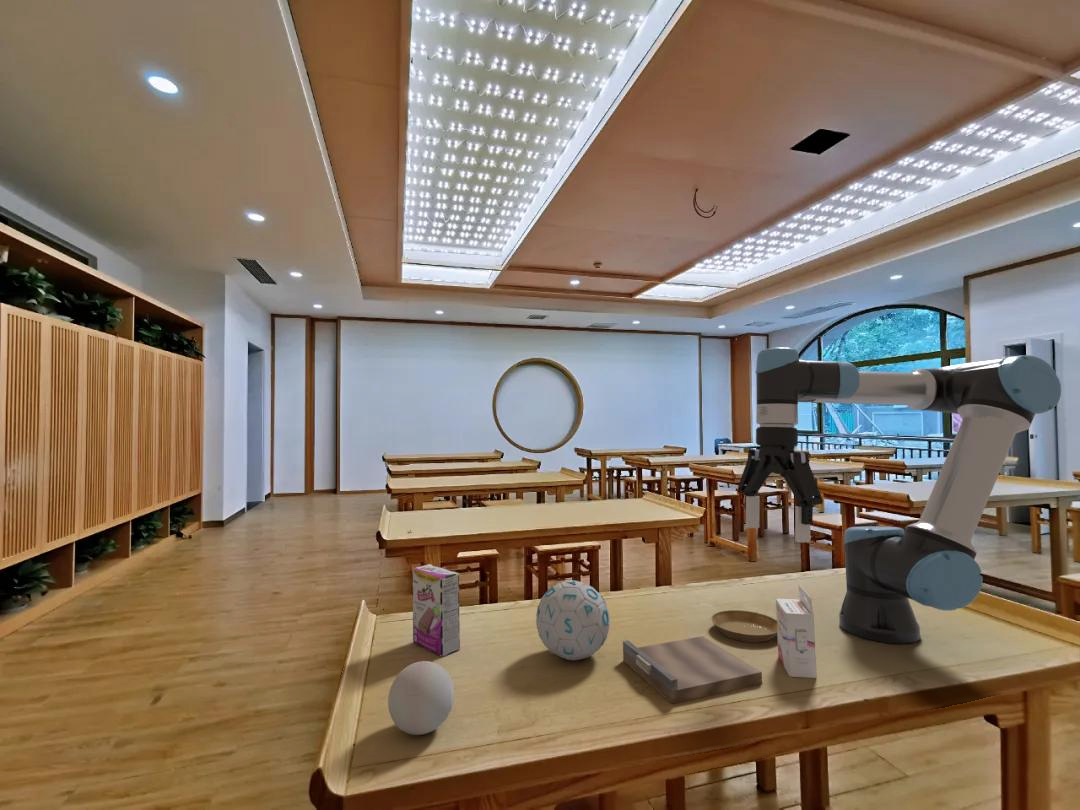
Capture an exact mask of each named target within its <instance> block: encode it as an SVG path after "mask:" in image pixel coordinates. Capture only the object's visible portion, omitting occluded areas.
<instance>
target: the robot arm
mask: <svg viewBox="0 0 1080 810" xmlns="http://www.w3.org/2000/svg"><path fill="white" fill-rule="evenodd" d="M798 351H799V350H797V349H796V348H792V347H771V348H765V349H762V350H761V351H759V352H758V354H757V357H756V367H755V375H756V379H755V381H756V415H755V416H756V417H755V418H756V424H757V425H759V427H756V429H755V444H756V446H759V449H758V448H755V449H754V448H749V449H748V450H747V451H748V452H747V460H746V463H745V466H744V469H743V472H742V474H741V477H740V480H739V483H738V486H737V491H738V492H741V493H743V495H744V498H745V499H744V510H745V528H747V529H759V528H760V494H759V491H760V489H761V488H762V487H763V485H764V484H765V482H766V480H767V479H768V477H769V476H770V475H771V474H777V475H780V477H782V478H784V480H785V482H786V484H787V486H788V487H789V489H790V491H791V493H792V495H793V496H794V498H795V500H796V501H797V504H796V505H794V506H795V507H794V510H795V511H794V513H795V515H794V516H795V517H794V519H795V520H794V522H795V523H794V524H795V525H794V529H795V530H794V531H795V532H794V541H795V543H811V525H812V524H813V521H814V520H813V519H814V517H813V516H814V515H813V514H814V513H813V512H814V510H813V509H814V507H815V506H817V505H822V504H823V502H824V500H823V497H822V495H821V492H820V489H819V487H818V485H817V481H816V478H815V477H814V473H813V470H812V468H811V466H810V459H809V458H810V457H809V453H808V452H807V451H795V447H797V446H798V445H799V441H798V440H799V438H798V437H799V432H798V431H799V430H798V428H797V427H795V426H797V425H799V411H798V410H799V408H798V407H799V403H819V404H820V403H821V404H823V403H824V404H827V403H828V404H854V405H855V404H856V405H857V404H858V405H888V406H907V407H908V408H909V409H911V410H915V411H930V412H937V413H948V414H954V415H955V414H956V415H959V416H960V418H961V419H962V420H961V423H960V425H959V427H958V430H957V432H956V435H955V437H954V438H953V441H952V444H951V446H950V448H949V451H948V453H947V456H946V457H945V460H944V462H943V464H942V467H941V469H940V471H939V473H938V476H937V479H936V481H935V483H934V486H933V488H932V490H931V493H930V495H929V497H928V499H927V502H926V504H925V506H924V508H923V511H922V513H921V515H920V518H919V520H918V521H917V522H914V523H911V524H908V525H906V527H905V530H904V528H901V527H899V526H898V527H897V526H881V525H880V526H873V525H871V526H865V525H864V526H852V527H848V528H846V530H845V531H844V541H843V546H844V560H845V563H844V564H845V565H844V566H845V578H846V579H845V581H846V583H845V584H846V592H845V596H844V599H843V602H842V604H841V608H840V611H839V614H838V618H839V626H840V627H841V628H842V629H843V630H845V631H846V632H848V633H850V634H852V635H854V636H857V637H860V638H864V639H867V640H871V641H874V642H880V643H887V644H913V643H916V642H918V641H919V640H920V639H921V627H920V625H919V624H920V623H918V621H917V618H916V614H915V613H914V609H913V607H912V605H911V603H910V599H911V600H912V601H915V602H916V603H918V604H920V605H922V606H924V607H925V606H926V607H930V608H933V609H936V610H939V611H946V612H947V611H956V610H958V609H962V608H966V607H967V606H969V605H970V604H971V603H972V602H973V601H974V600H975V599H977V597H978V596H979V594H980V592H981V590H982V587H983V581H984V580H983V576H982V575H981V572H982V569H981V566H980V565H979V563H978V562H977V561H976V560H975V558H976V556H977V554H978V551H977V550H976V548H975V546H974V545H973V544H972V539H973V537H974V534H975V531H976V529H977V527H978V524H979V523H980V520H981V517H982V515H983V513H984V510H985V508H986V505H987V504H988V501H989V499H990V497H991V493H992V491H993V489H994V487H995V484H996V482H997V480H998V477H999V475H1000V472H1001V470H1002V468H1003V465H1004V463H1005V460H1006V458H1007V455H1008V453H1009V451H1010V449H1011V446H1012V444H1013V442H1014V439H1015V436H1016V434H1018V433H1021V432H1024V431H1027V430H1029V429H1030V428H1031V425H1032V423H1033V420H1034V419H1035V416H1036V415H1037V414H1043V413H1047V412H1048V411H1051V410H1053V409H1054V408H1055V407H1056V406H1057V405H1058V404H1059V401H1060V399H1061V397H1062V396H1061V395H1062V385H1061V381H1060V378H1059V377H1058V375H1057V372H1056V370H1055V369H1054V368H1053V366H1051V364H1050V363H1048V362H1047V361H1045V360H1044V359H1042V358H1040V357H1038V356H1034V355H1025V354H1024V355H1023V354H1022V355H1007V356H1004V357H999V358H993V359H985V360H978V361H977V360H976V361H971V362H964V363H963V362H962V363H959V364H958V363H957V364H953V365H948V366H942V367H941V366H940V367H935V368H916V369H912V370H911V371H909V372H900V371H899V372H895V371H869V370H868V371H867V370H863V371H862V370H861V371H860V370H858V368H857V367H856V366H855V365H854V363H852V362H847V361H839V360H835V361H834V360H833V361H831V360H830V361H829V360H803V359H800V357H799V352H798Z"/></svg>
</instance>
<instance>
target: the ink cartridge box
mask: <svg viewBox="0 0 1080 810" xmlns="http://www.w3.org/2000/svg"><path fill="white" fill-rule="evenodd" d="M797 586H798V591H799V592H798V593H799V599H794V598H775V608H776V611H775V612H776V620H777V635H776V636H777V651H778V652H777V655H778V658H779V660H780V661H781V663H782V666H783V668H784V669H785V671H786V672H787V674H788V676H789V677H793V678H805V679H806V678H808V679H817V676H818V675H817V674H818V673H817V657H816V656H817V655H816V635H815V618H814V616H815V615H814V610H813V604H812V598H811V596H810V595H809V593H808V592H807V591H806V590H805V589H804V588H803V587H802V586H801V585H800V584H798V585H797Z"/></svg>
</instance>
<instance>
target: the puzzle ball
mask: <svg viewBox="0 0 1080 810" xmlns="http://www.w3.org/2000/svg"><path fill="white" fill-rule="evenodd" d="M535 625H536V630H537V632H538V637H539V638H540V640H541V641H542V643H543V644H544V646H545V648H547V650H548V651H550V652H551V653H553V654H554V655H556V656H559V657H560V658H563V659H564V660H567V661H579V660H583V659H586V658H589V657H591V656H592V655H595V654H596V653H597V652H598V651H599V650H600V649H601V647H603V646H604V643H605V641H606V639H607V637H608V635H609V630H610V611H609V609H608V605H607V603H606V600H605V599H604V597H603V595H602V594H601V593H599V592H598V591H597V590H596V589H595V587H593V586H592V585H589V584H587V583H585V582H582V581H579V580H576V579H574V580H573V579H571V580H567V581H561V582H558V583H556V584H555V585H553V586H552V587H550V588H549V589H548V590H547V591H546V592H545V593H544V594H543V596H542V597H541V598H540V601H539V603H538V605H537V610H536V617H535Z"/></svg>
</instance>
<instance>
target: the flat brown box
mask: <svg viewBox="0 0 1080 810" xmlns="http://www.w3.org/2000/svg"><path fill="white" fill-rule="evenodd" d="M622 655H623V656H622V657H623V658H622V659H623V660H622V661H623V662H624V663H625V664H627V665H628V666H629V667H630V668H631V669H632V670H634V672H636V673H637V674H638V675H639V676H640V677H641V678H642V679H643V680H644V681H646V683H648V684H649V685H650V686H652V688H654V689H655V691H657V692H658V693H659V694H661V695H662V696H663V697H664V698H665V700H667V701H668V702H669V703H671V704H676V703H681V702H686V701H689V700H694V699H699V698H703V697H707V696H712V695H716V694H721V693H724V692H729V691H734V690H738V689H739V690H740V689H742V688H746V687H751V686H756V685H761V684H763V672H762V670H759V669H758V668H756V667H755V666H753V665H751V664H749V663H748V662H746V661H744V660H743V659H741V658H739V657H738V656H736V655H734V654H733V653H732V652H730V651H728V650H726V649H724V648H723V647H721V646H720V645H718V644H717V643H715V642H713V641H711V640H710V639H708V638H706V637H705V636H703V635H702V636H696V637H695V636H694V637H690V638H686V639H685V638H684V639H679V640H673V641H668V642H662V643H656V644H651V645H647V646H640V647H637V646H636V645H634V644H633V642H631V641H629V640H623V641H622Z"/></svg>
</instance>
